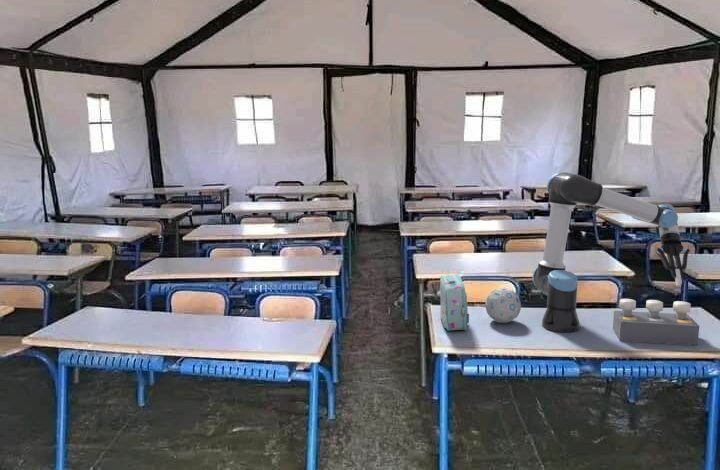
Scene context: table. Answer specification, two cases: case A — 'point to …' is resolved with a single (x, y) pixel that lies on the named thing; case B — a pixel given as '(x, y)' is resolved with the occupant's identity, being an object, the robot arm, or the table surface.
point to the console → (656, 328)
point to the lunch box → (453, 303)
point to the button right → (681, 309)
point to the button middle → (654, 308)
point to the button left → (627, 306)
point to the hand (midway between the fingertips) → (679, 284)
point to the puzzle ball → (503, 305)
